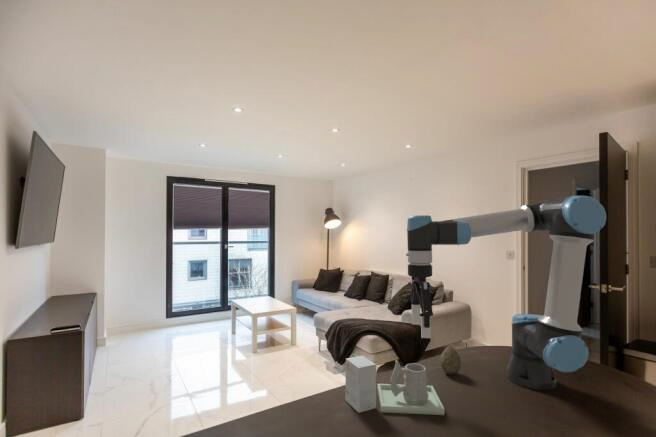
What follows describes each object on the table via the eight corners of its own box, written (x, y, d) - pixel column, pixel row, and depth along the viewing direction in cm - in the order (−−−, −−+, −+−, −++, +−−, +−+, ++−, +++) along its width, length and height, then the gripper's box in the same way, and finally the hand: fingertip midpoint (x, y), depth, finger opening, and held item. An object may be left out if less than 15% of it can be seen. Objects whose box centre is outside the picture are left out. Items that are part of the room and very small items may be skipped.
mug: (432, 405, 102) (432, 365, 102) (393, 406, 101) (393, 366, 101) (423, 393, 109) (423, 355, 110) (386, 393, 108) (387, 356, 109)
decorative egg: (439, 375, 123) (439, 348, 123) (441, 368, 130) (441, 342, 130) (460, 379, 121) (460, 351, 121) (461, 371, 127) (461, 344, 127)
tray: (432, 391, 112) (432, 385, 112) (444, 415, 98) (444, 408, 98) (377, 389, 113) (377, 383, 113) (381, 412, 99) (381, 406, 99)
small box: (376, 408, 101) (376, 364, 101) (358, 413, 98) (358, 368, 98) (362, 395, 108) (362, 354, 108) (344, 400, 106) (345, 358, 106)
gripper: (401, 259, 121) (402, 319, 121) (416, 268, 96) (417, 344, 96) (422, 259, 121) (423, 319, 120) (443, 268, 96) (444, 344, 96)
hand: (420, 330), depth 108 cm, fingers open, 13 cm apart
